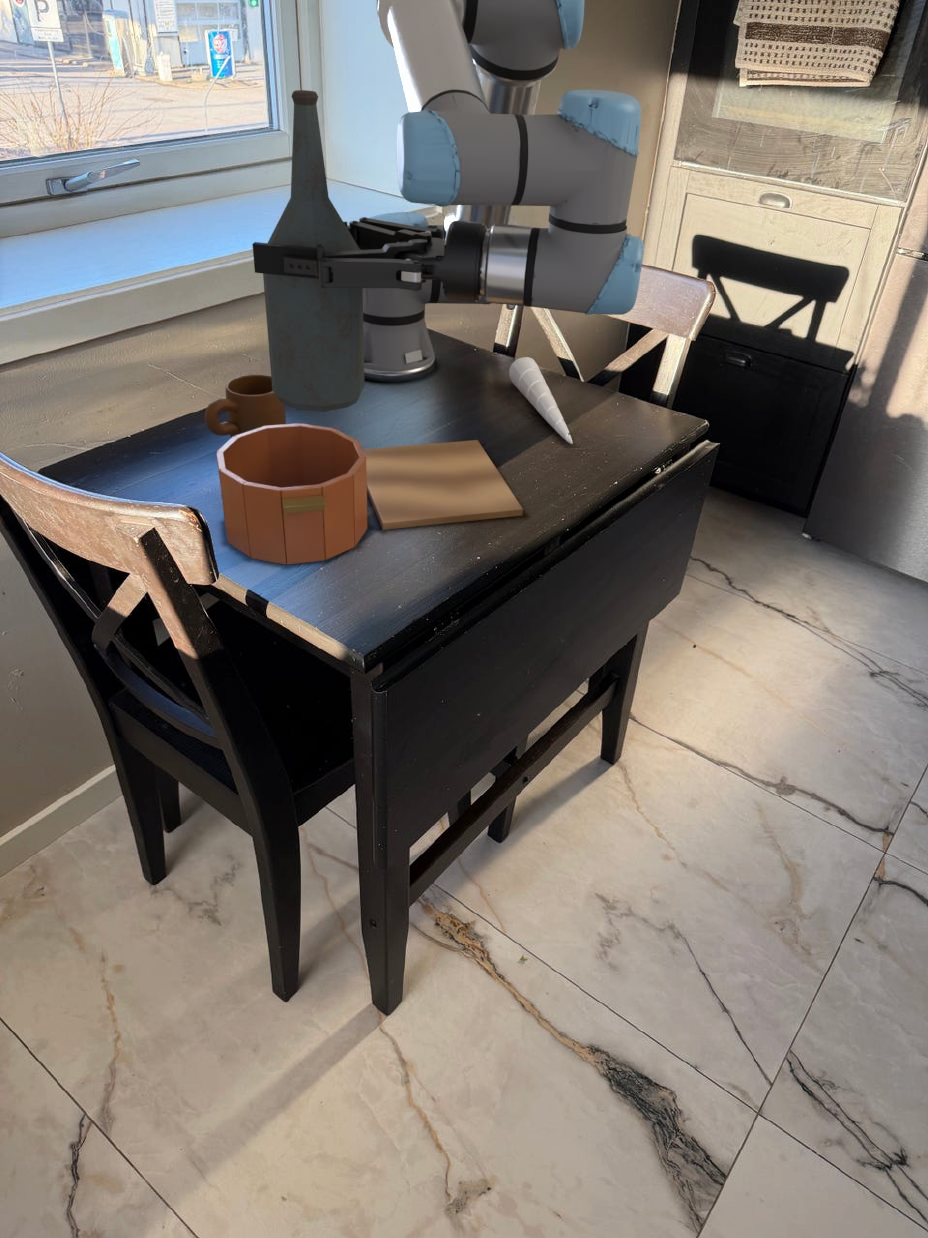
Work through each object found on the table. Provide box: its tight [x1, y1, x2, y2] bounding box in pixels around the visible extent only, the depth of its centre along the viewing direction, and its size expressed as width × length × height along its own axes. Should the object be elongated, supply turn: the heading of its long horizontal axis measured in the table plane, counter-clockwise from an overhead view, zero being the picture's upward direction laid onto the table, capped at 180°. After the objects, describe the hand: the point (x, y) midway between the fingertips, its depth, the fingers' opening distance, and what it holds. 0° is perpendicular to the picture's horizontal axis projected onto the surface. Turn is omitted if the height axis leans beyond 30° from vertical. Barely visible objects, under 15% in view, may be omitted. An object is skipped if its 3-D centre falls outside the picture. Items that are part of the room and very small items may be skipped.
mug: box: [204, 374, 287, 439], centre depth 121 cm, size 12×8×9 cm, turn 142°
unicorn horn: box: [508, 356, 574, 445], centre depth 139 cm, size 5×24×5 cm, turn 12°
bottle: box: [262, 89, 365, 413], centre depth 94 cm, size 10×10×30 cm
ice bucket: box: [215, 422, 368, 566], centre depth 107 cm, size 21×17×10 cm
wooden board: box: [362, 439, 524, 531], centre depth 120 cm, size 20×18×1 cm
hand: (272, 243), depth 94 cm, fingers closed on bottle, 10 cm apart
